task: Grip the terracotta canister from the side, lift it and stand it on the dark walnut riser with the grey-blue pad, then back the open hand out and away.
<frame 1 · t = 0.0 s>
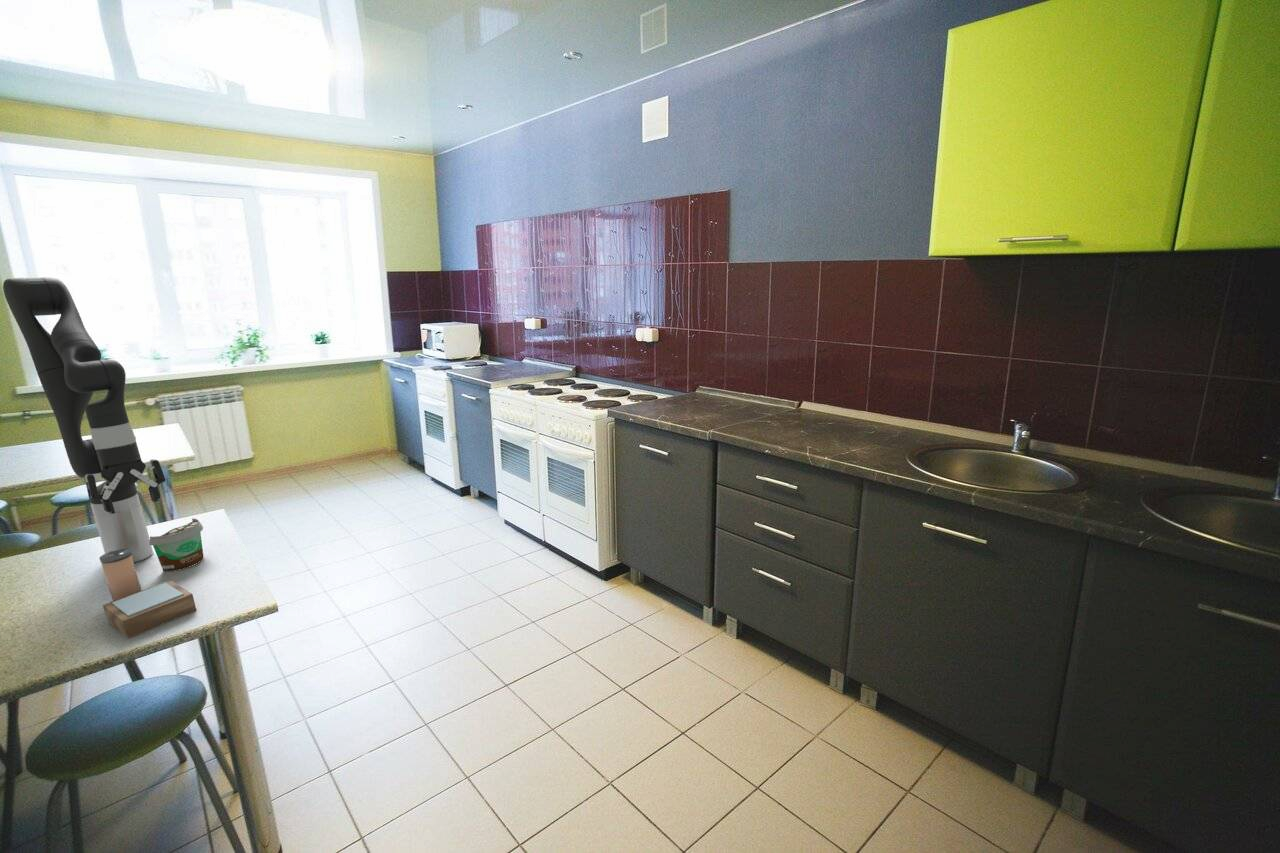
hand: (134, 507, 143), 17 cm above the table, tool pointing down, fingers open, 8 cm apart
food container: (190, 564, 150), on the table
terracotta canister: (127, 597, 134), on the table
walnut riser: (152, 615, 126), on the table
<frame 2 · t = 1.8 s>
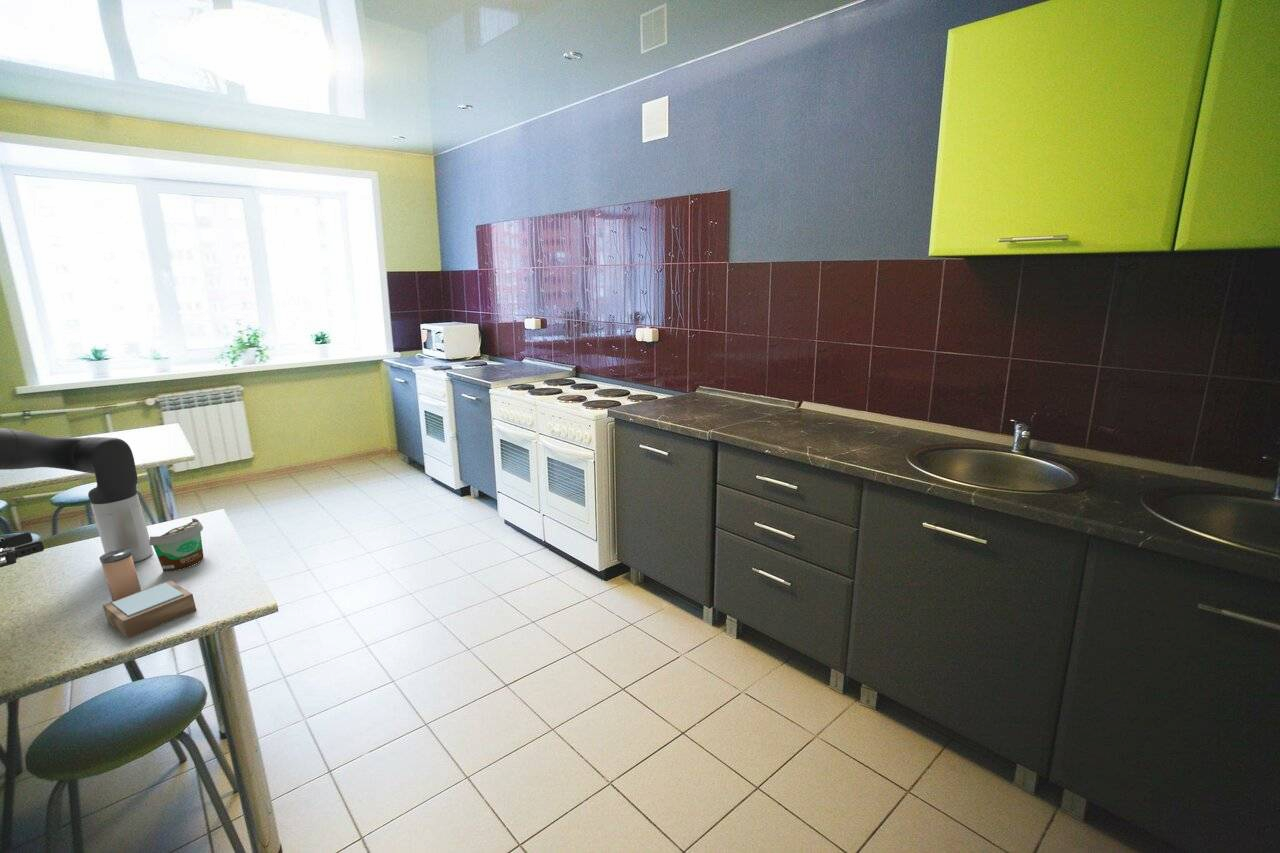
hand: (37, 540, 120), 19 cm above the table, tool horizontal, fingers open, 8 cm apart
nothing on the table moved.
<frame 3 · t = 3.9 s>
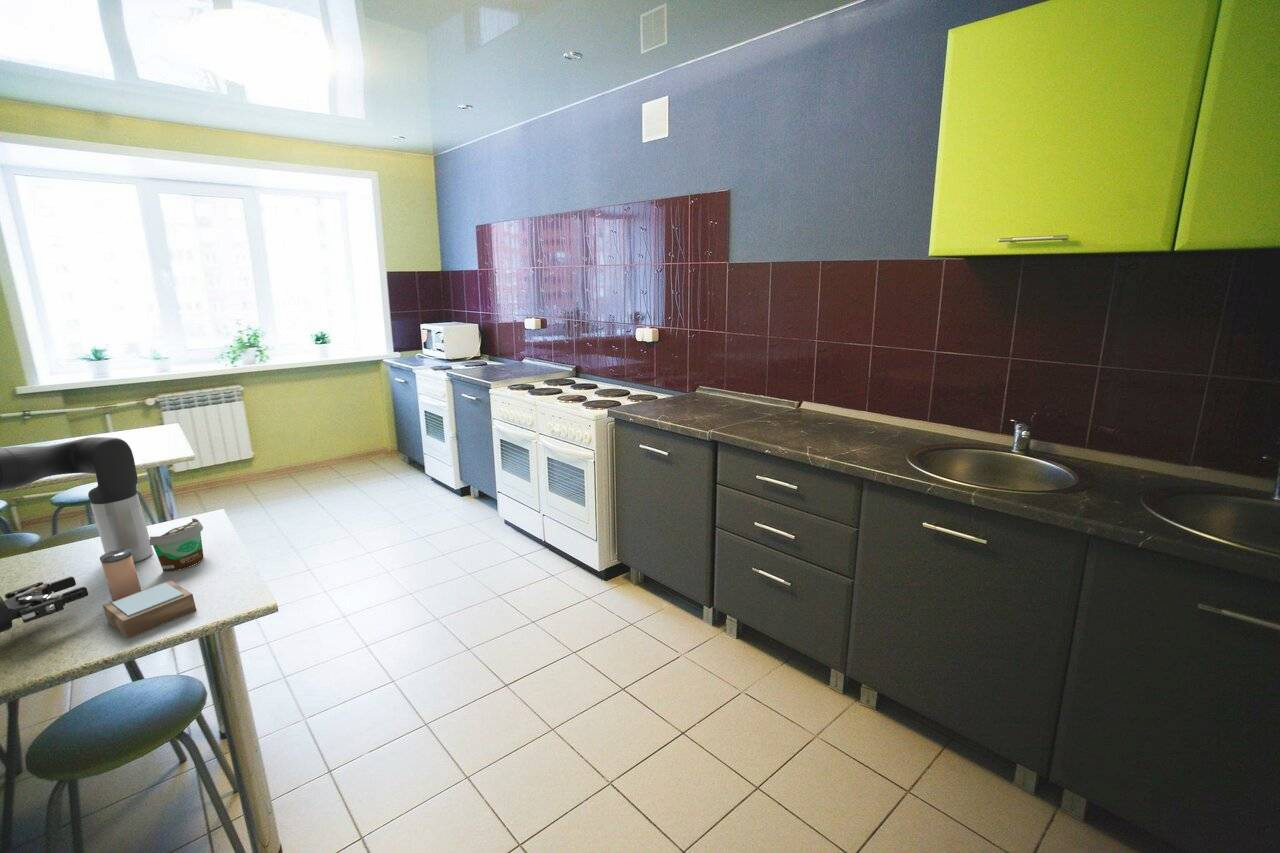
hand: (80, 585, 127), 6 cm above the table, tool horizontal, fingers open, 8 cm apart
nothing on the table moved.
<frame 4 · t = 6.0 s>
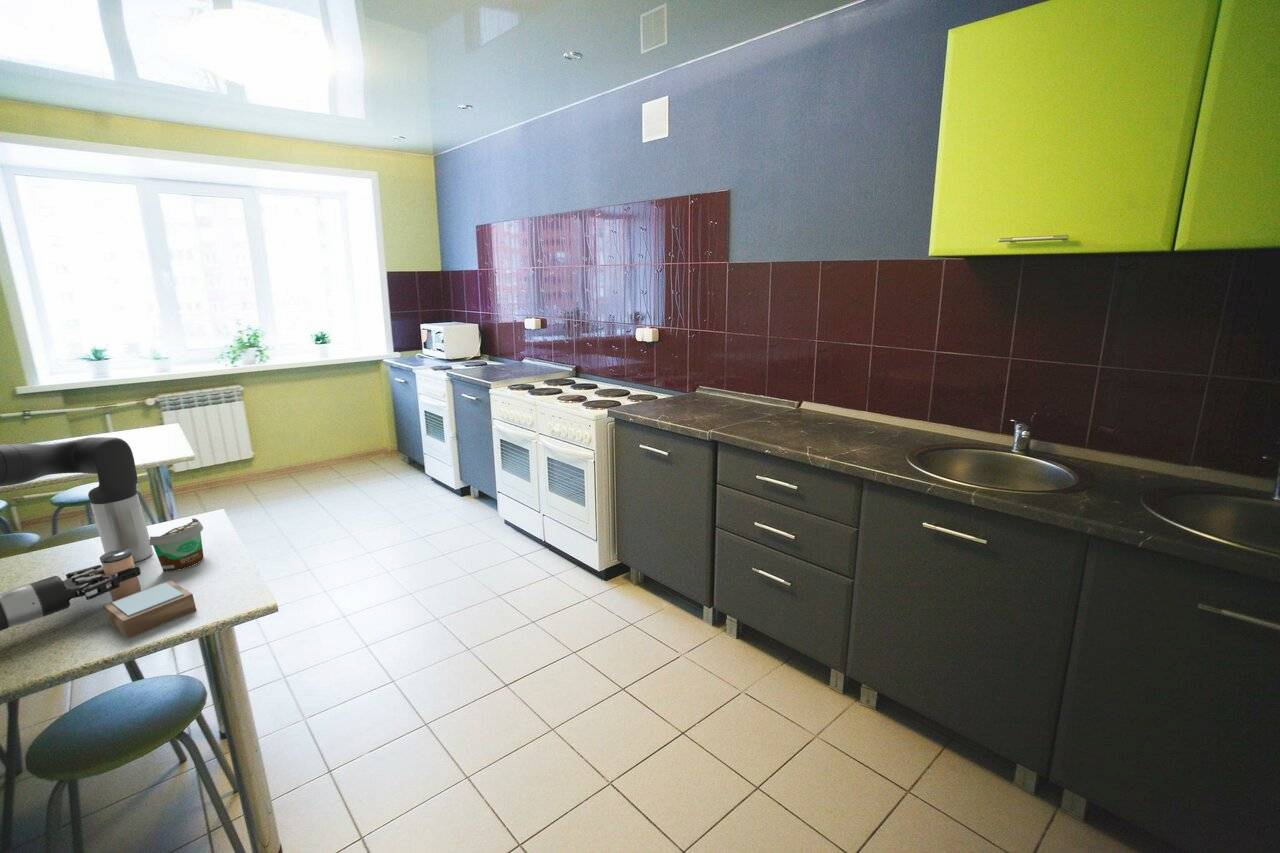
hand: (134, 567, 135), 7 cm above the table, tool horizontal, fingers closed on terracotta canister, 5 cm apart
terracotta canister: (127, 597, 134), on the table, touching gripper
everything else where it was.
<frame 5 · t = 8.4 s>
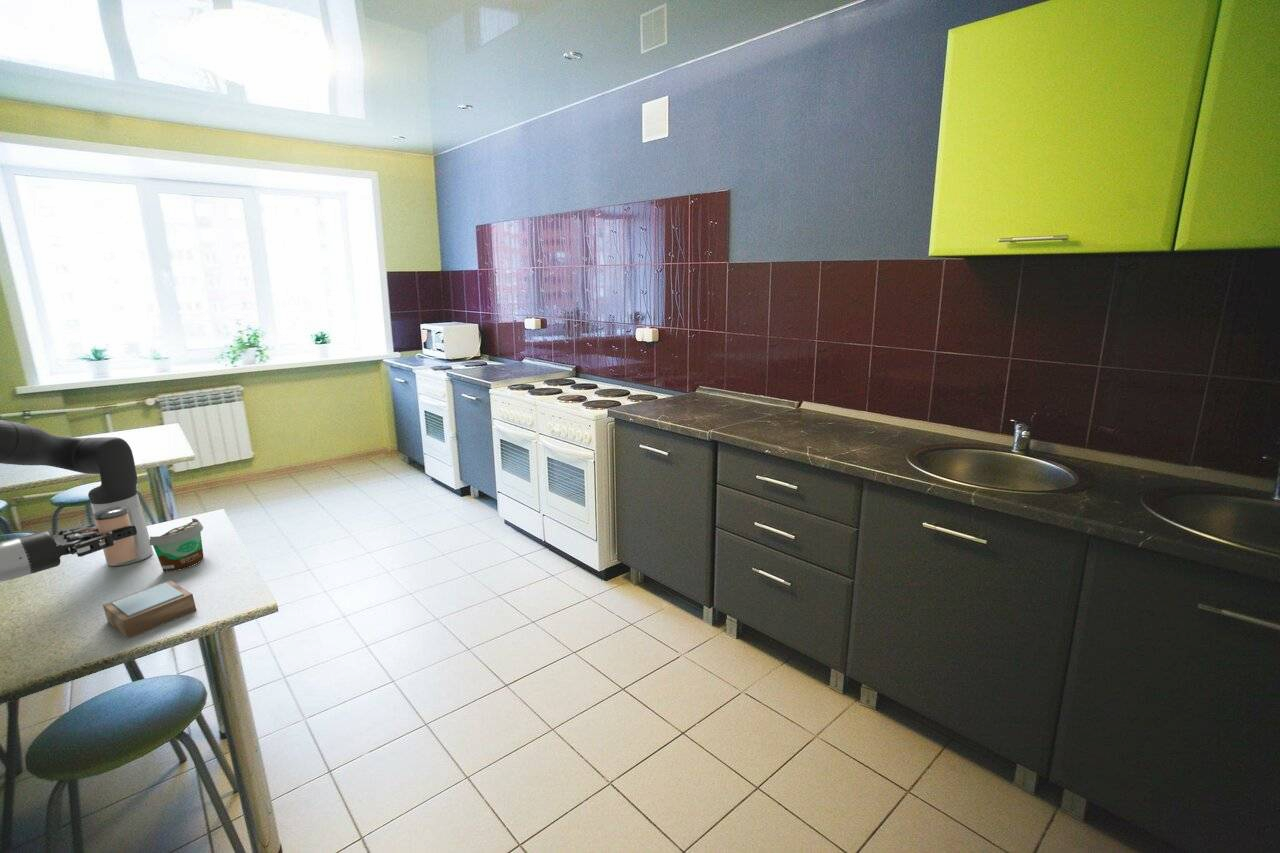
hand: (130, 526, 126), 19 cm above the table, tool horizontal, fingers closed on terracotta canister, 5 cm apart
terracotta canister: (122, 558, 126), point 12 cm above the table, touching gripper
everything else where it was.
when the fingers open (12 cm above the table, at t = 10.7 s): terracotta canister stays where it is, resting on walnut riser.
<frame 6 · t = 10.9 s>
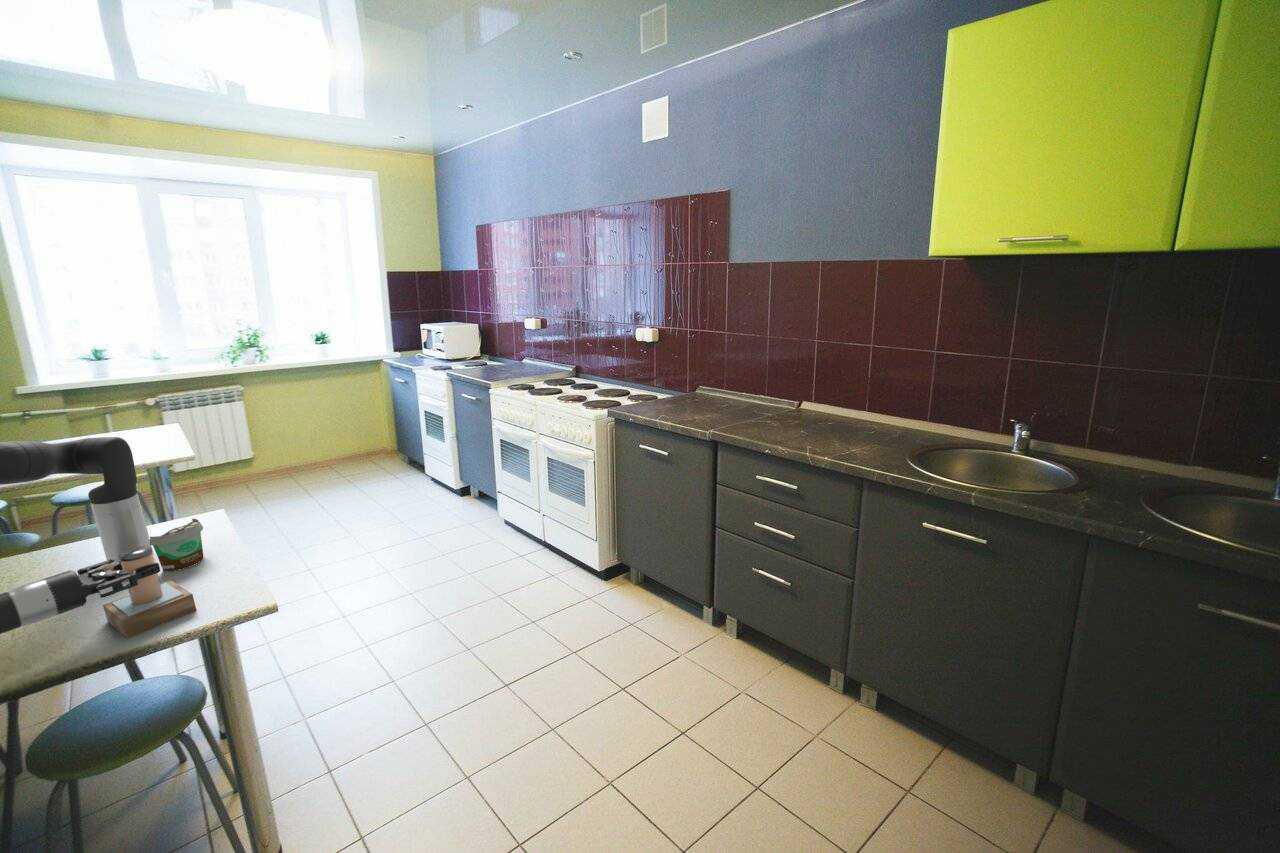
hand: (151, 562, 125), 12 cm above the table, tool horizontal, fingers open, 7 cm apart
terracotta canister: (147, 598, 125), point 4 cm above the table, touching walnut riser
everything else where it was.
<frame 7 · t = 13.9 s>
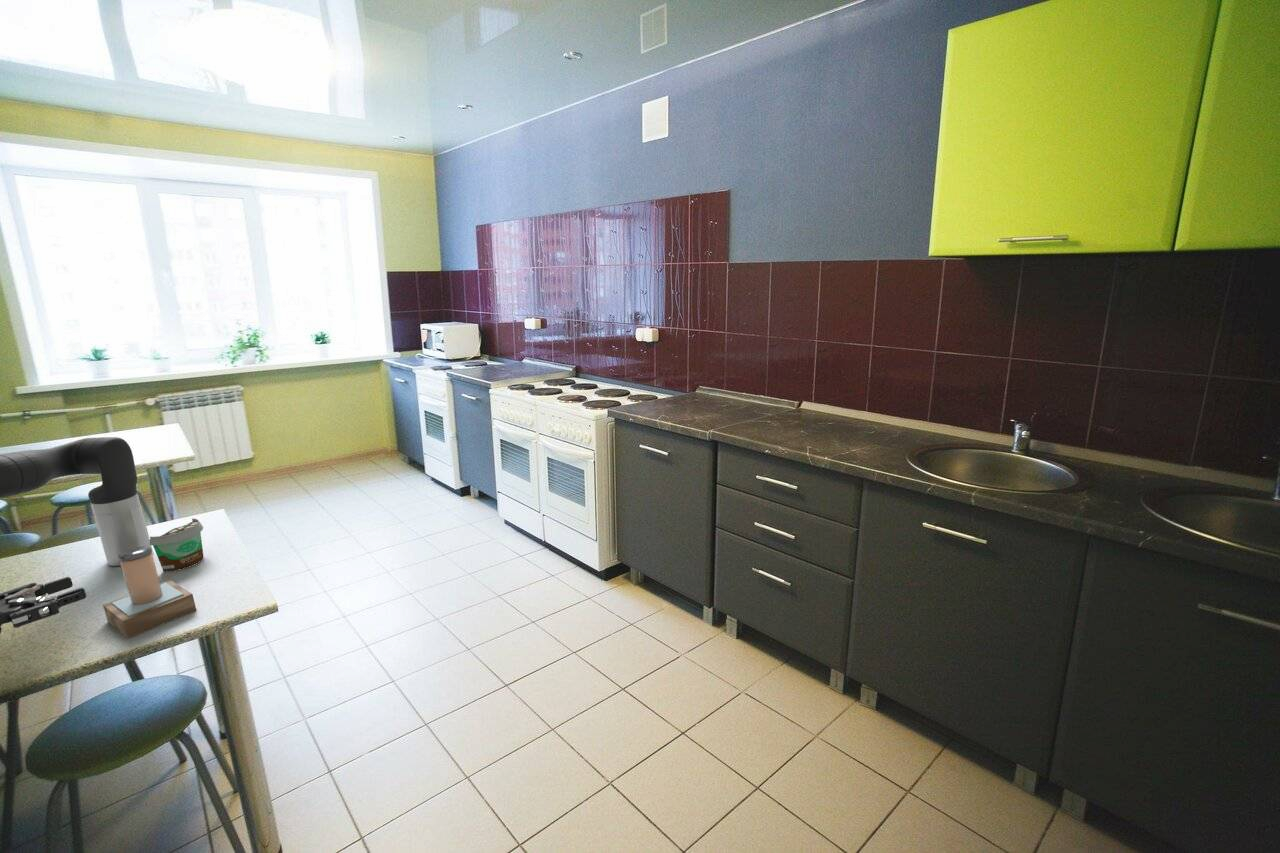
hand: (78, 586, 115), 12 cm above the table, tool horizontal, fingers open, 8 cm apart
nothing on the table moved.
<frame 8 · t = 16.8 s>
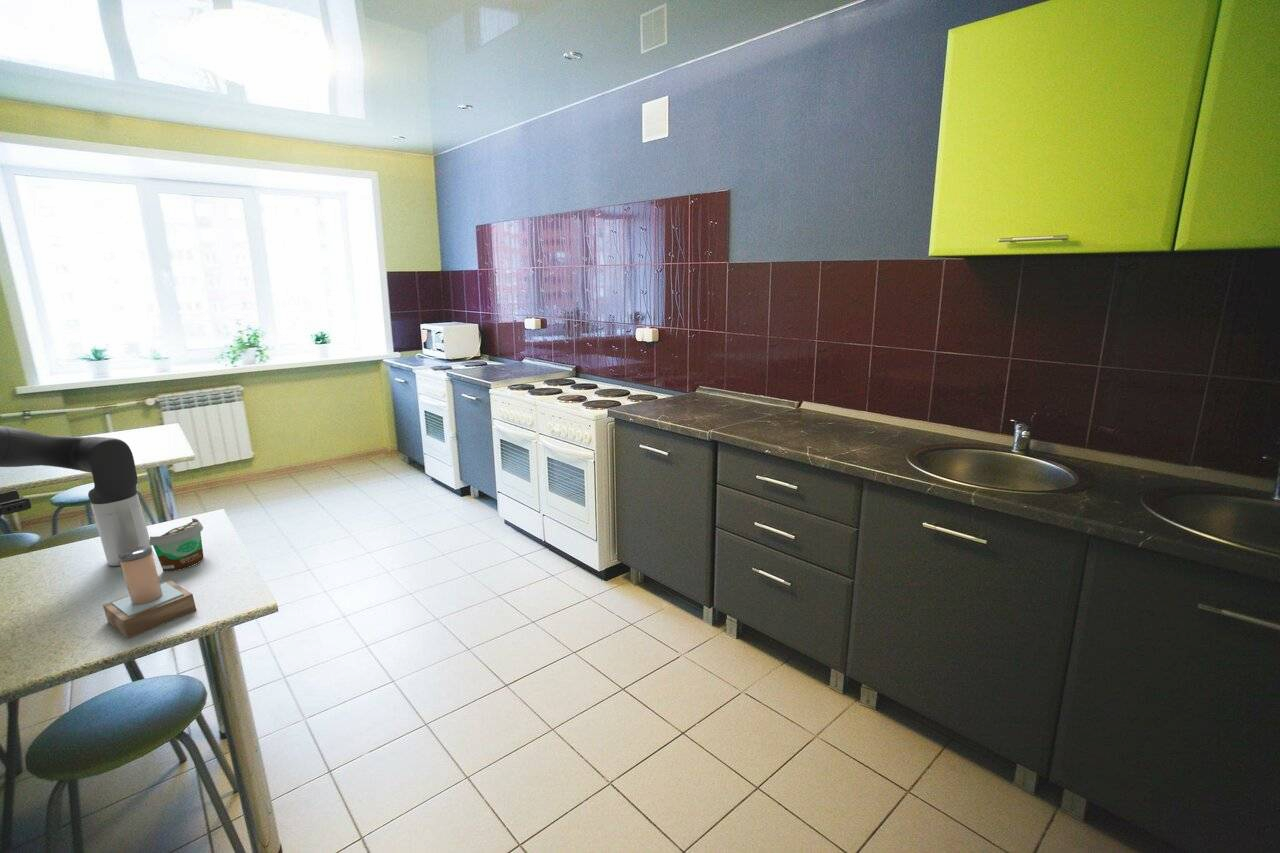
hand: (23, 498, 113), 30 cm above the table, tool horizontal, fingers open, 8 cm apart
nothing on the table moved.
at the end: terracotta canister inside the target area on the walnut riser (0.1 cm from its centre), point 4.3 cm above the walnut riser's base; terracotta canister tilted 0°; the gripper is holding nothing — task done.
